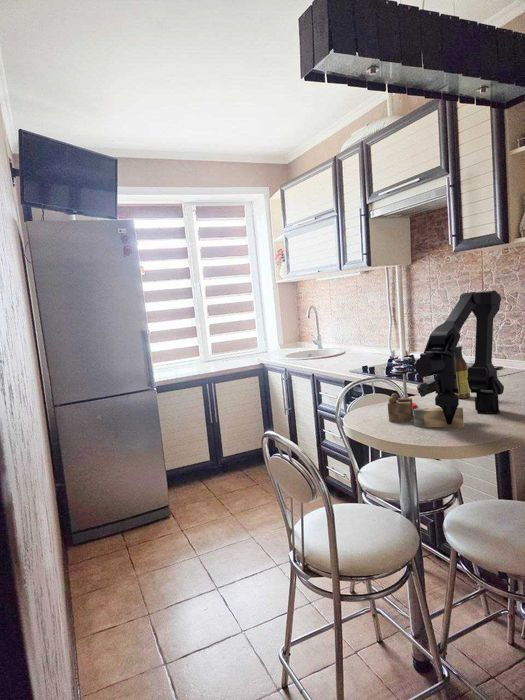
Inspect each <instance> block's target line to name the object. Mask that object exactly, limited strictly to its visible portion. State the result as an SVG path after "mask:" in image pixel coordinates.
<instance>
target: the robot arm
mask: <svg viewBox="0 0 525 700" xmlns="http://www.w3.org/2000/svg"><path fill="white" fill-rule="evenodd" d="M501 302H502V296H501V294H500V293H498V291H497V290H485V291H484V290H483V291H478V292H477V291H470V292H463V293H461V294H460V296H459V300H458V301H457V303H456V304H455V306H454V308H453V309H452V311H451V312H450V314H449V315H448V317H447V318H446V319H445V321H444V322H443V323H441V324H439V325H438V326H436V327H435V328H434V329H433V330H432V331H431V333H430V335H429V336H428V339H427V343H426V345H425V348H424V350H423V352H422V353H420V354H419V358H418V359H417V360H416V361H415V365H414V369H415V372H416V373H417V374H418V376H420V377H421V378H422V377H423V378H427V377H431V376H434V378H433V379H431V380H428V381H424V382H423V383H419V384H417V386H416V389H417V393H418V394H419V396H420V397H421V398H423V397H426V395H430V394H432V393H435V395H436V396H435V398H434V403H435V404H434V405H435V406H437V407H438V408H442V409H443V412H444V416H445V419H446V422H447V424H448V425H451V423H452V420H453V418H454V415H455V412H456V410H457V408H459V407H458V406H459V405H460V401H459V399H460V398H458V395H456V394H455V393H457V394H459V392H458V386H457V379H456V365H455V355H458V354H459V352H458V351H456V350H455V349H454V348H455V347H456V346H458V344H459V341H460V340H461V333H460V331H461V329H462V328H463V326H464V324H465V323H466V321H467V319H469V316H470V315H471V313H473V316H474V317H475V318H476V319H475V320H476V322H475V323H476V324H475V347H474V348H475V349H474V362H473V364H472V366H468V367H467V370H468V377H467V379H468V385H469V388H470V394H475V395H476V396H474V408H475V409H474V410H475V411H476V412H477V414H500V413H501V411H500V404H499V402H500V401H499V395H503V393H504V389H505V386H504V384H503V383H502V382H501V381H500V380H499V378H498V372H497V371H498V370H497V369H496V367H495V366H494V364H493V337H494V335H493V333H494V319H495V317H496V315H497V314H498V313H499V311H500V309H501V308H500V307H501Z"/></svg>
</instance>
